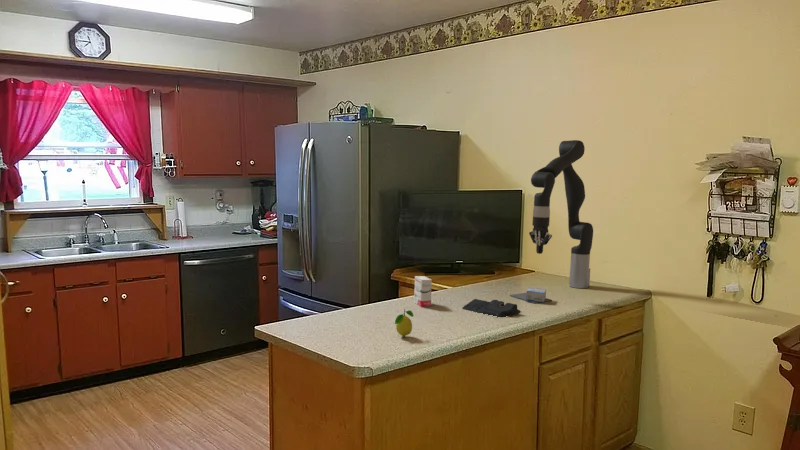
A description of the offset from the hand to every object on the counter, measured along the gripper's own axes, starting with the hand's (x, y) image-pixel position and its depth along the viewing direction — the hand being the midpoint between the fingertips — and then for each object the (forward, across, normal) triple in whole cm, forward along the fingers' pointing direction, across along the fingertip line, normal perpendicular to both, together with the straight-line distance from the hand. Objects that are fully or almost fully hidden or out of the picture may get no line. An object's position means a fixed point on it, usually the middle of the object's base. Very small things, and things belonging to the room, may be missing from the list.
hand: (539, 253), depth 265 cm
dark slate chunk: (+21, -10, +35) cm, 42 cm away
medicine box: (+18, -2, +2) cm, 18 cm away
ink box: (+21, +11, +56) cm, 61 cm away
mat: (+21, 0, +4) cm, 21 cm away
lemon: (+21, -26, +87) cm, 93 cm away
